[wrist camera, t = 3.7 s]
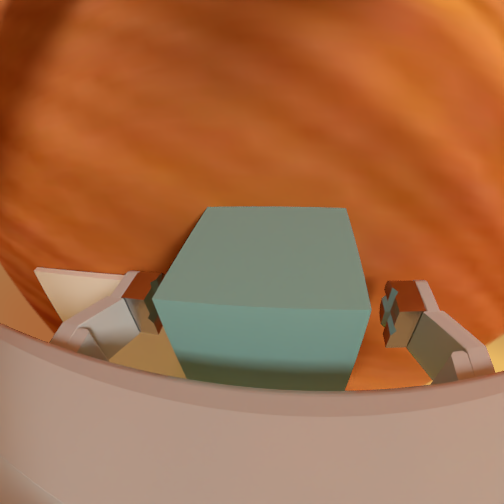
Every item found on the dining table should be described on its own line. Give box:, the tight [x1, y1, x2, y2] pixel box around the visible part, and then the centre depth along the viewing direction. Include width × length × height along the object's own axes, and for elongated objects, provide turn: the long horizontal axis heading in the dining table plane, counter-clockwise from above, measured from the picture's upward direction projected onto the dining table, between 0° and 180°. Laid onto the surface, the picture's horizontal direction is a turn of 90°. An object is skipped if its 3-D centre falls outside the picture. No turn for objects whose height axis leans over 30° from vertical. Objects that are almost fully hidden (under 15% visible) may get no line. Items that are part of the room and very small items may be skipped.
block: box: [152, 207, 371, 391], centre depth 10 cm, size 5×5×5 cm
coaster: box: [34, 267, 187, 379], centre depth 16 cm, size 10×10×1 cm
